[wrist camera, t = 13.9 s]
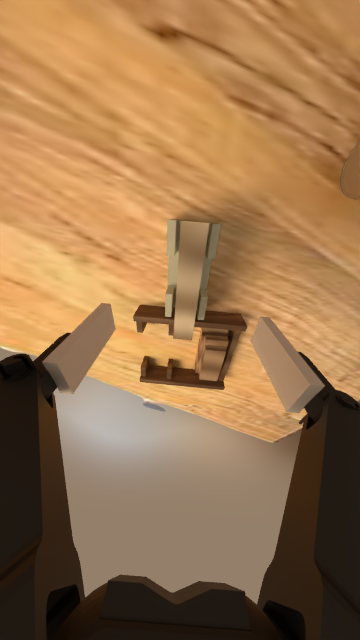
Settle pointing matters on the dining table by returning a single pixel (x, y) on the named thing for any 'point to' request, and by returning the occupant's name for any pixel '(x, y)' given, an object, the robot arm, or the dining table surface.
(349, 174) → the coffee cup
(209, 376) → the rack
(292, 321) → the dining table surface
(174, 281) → the display stand
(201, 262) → the plywood sheet
